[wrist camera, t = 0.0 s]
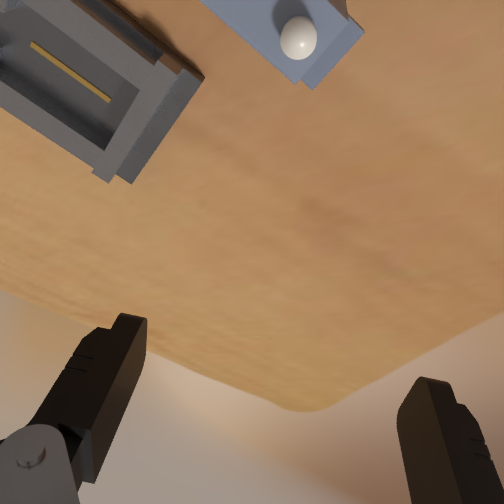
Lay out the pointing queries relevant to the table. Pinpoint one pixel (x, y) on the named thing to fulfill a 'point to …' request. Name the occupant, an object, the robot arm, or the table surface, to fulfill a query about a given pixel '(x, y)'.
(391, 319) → the table surface
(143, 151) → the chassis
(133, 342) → the robot arm
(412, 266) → the table surface
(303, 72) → the servo
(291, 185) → the table surface
